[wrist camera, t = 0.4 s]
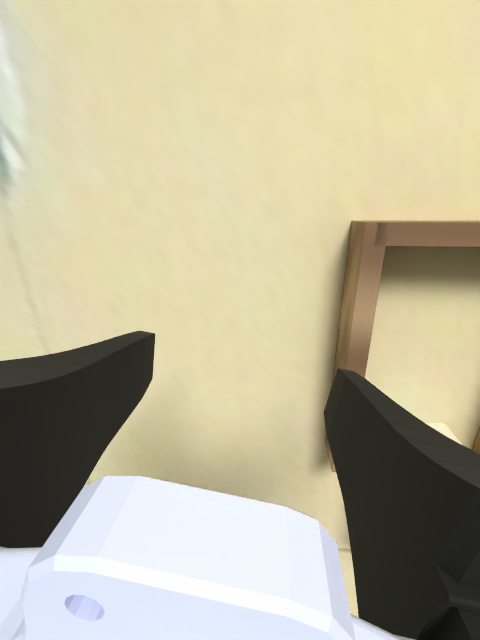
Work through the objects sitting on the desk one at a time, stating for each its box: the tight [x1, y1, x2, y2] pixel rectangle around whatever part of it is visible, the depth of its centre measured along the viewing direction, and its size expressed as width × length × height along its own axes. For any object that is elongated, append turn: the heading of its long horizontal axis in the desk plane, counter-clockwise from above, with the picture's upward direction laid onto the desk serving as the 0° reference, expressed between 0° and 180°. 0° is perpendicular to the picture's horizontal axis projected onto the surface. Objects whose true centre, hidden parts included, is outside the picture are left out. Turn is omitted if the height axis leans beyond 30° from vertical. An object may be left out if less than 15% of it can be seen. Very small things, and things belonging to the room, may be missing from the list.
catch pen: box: [325, 221, 480, 472], centre depth 19 cm, size 17×12×3 cm
